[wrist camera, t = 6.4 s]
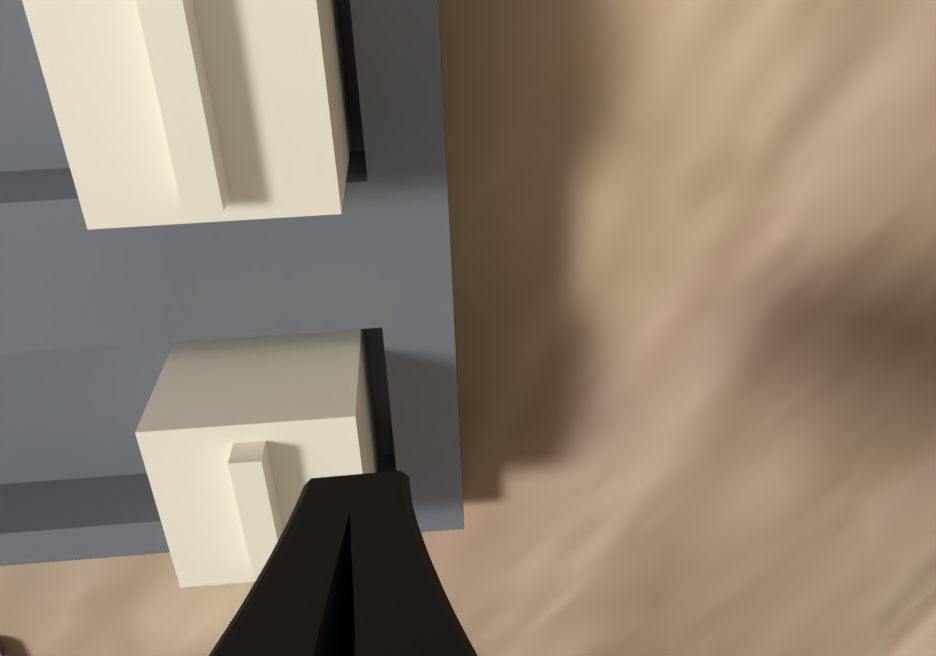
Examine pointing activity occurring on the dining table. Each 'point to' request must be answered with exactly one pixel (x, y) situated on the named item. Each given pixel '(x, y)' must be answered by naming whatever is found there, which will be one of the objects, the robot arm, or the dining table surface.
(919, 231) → the dining table surface
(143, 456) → the tab
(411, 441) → the switch bank
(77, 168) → the tab
